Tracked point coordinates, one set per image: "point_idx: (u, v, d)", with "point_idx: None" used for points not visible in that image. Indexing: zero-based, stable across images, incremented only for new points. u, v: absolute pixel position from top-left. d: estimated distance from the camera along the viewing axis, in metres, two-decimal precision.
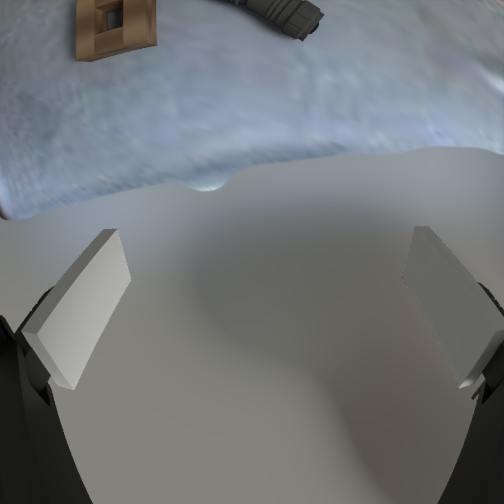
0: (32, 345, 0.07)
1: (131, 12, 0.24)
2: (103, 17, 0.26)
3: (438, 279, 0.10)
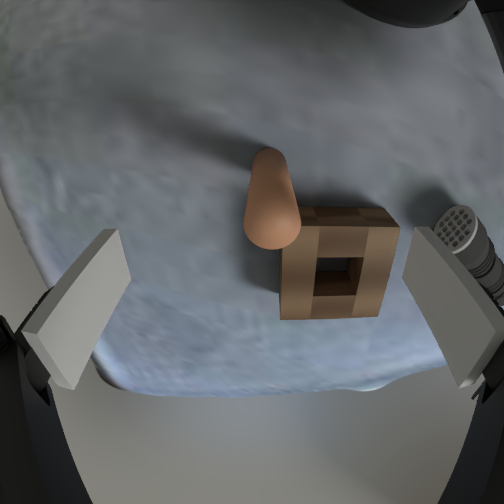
0: (32, 345, 0.07)
1: (370, 280, 0.26)
2: None
3: (438, 279, 0.10)
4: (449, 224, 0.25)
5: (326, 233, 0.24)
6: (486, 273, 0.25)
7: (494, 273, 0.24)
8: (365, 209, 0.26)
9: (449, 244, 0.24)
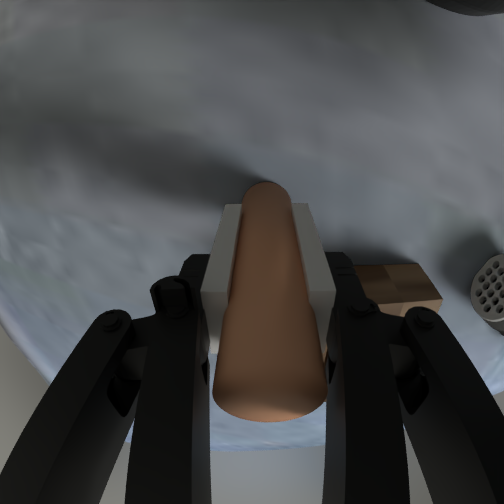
0: (207, 307, 0.09)
1: None
2: None
3: None
4: (491, 279, 0.18)
5: None
6: None
7: None
8: (394, 267, 0.19)
9: (492, 309, 0.16)
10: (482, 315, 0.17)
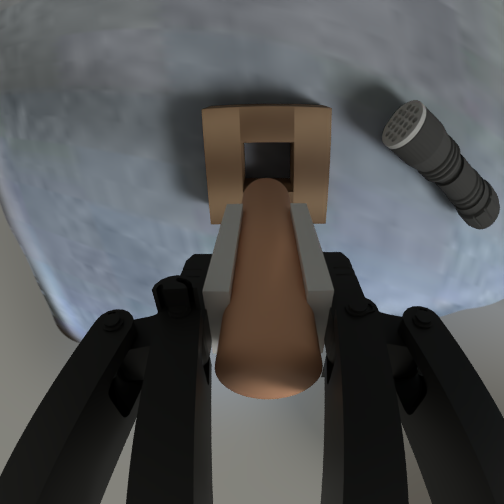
0: (209, 307, 0.09)
1: (307, 172, 0.23)
2: (243, 149, 0.25)
3: None
4: (398, 122, 0.23)
5: (246, 114, 0.21)
6: (455, 177, 0.22)
7: (465, 177, 0.22)
8: (299, 104, 0.24)
9: (397, 137, 0.22)
10: (390, 145, 0.22)
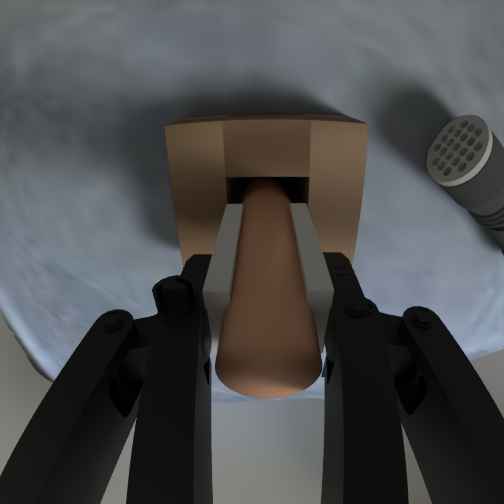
0: (209, 307, 0.09)
1: (327, 222, 0.16)
2: (231, 181, 0.18)
3: None
4: (449, 145, 0.15)
5: (234, 132, 0.14)
6: None
7: None
8: (314, 114, 0.16)
9: (453, 169, 0.14)
10: (442, 180, 0.15)
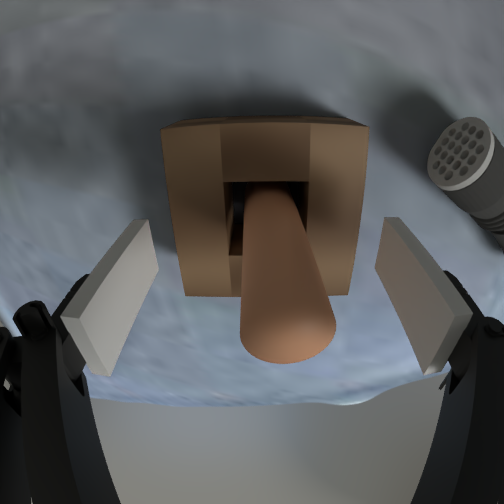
0: (70, 331, 0.08)
1: (327, 227, 0.15)
2: (229, 186, 0.17)
3: (404, 267, 0.10)
4: (450, 148, 0.15)
5: (232, 135, 0.13)
6: None
7: None
8: (314, 116, 0.16)
9: (454, 174, 0.14)
10: (444, 184, 0.14)
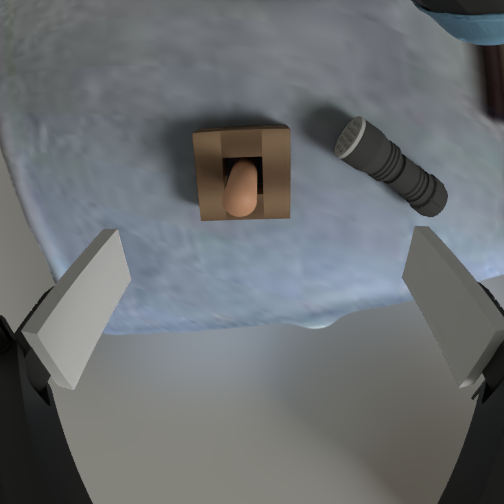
0: (32, 345, 0.07)
1: (273, 179, 0.31)
2: (225, 162, 0.33)
3: (438, 279, 0.10)
4: (347, 136, 0.31)
5: (225, 136, 0.29)
6: (398, 175, 0.30)
7: (408, 175, 0.30)
8: (268, 125, 0.32)
9: (343, 149, 0.30)
10: (338, 155, 0.30)
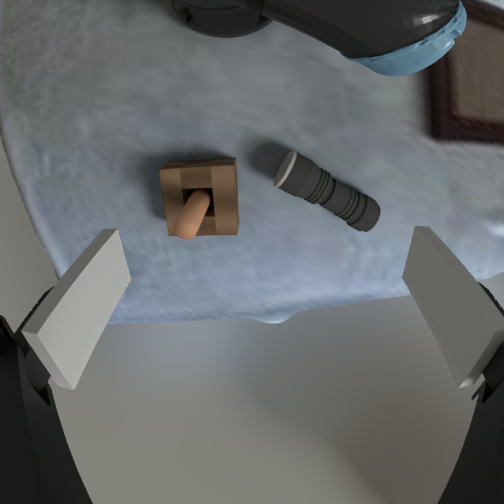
0: (32, 345, 0.07)
1: (222, 204, 0.40)
2: (186, 189, 0.42)
3: (438, 279, 0.10)
4: (284, 167, 0.40)
5: (184, 172, 0.38)
6: (328, 199, 0.39)
7: (337, 198, 0.38)
8: (220, 159, 0.40)
9: (278, 179, 0.38)
10: (274, 185, 0.39)
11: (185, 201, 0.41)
